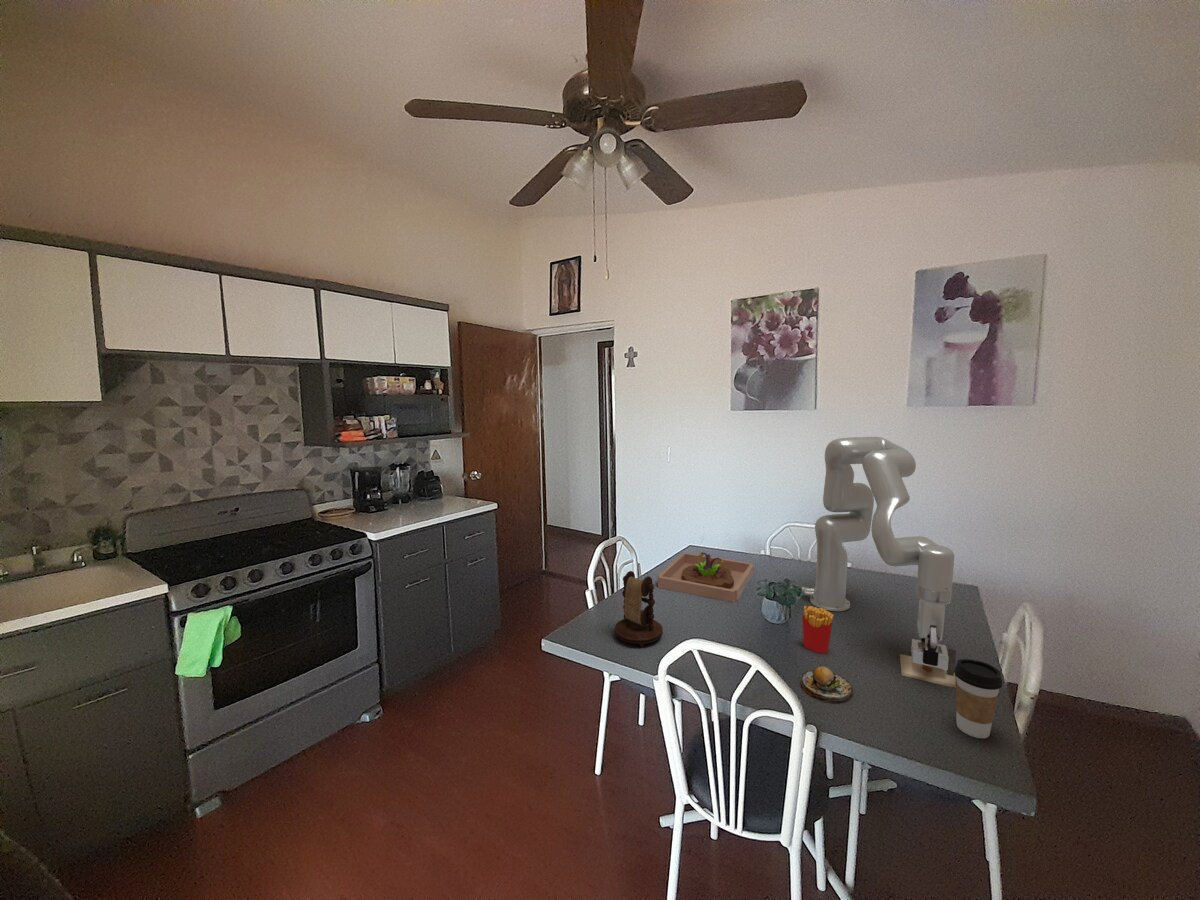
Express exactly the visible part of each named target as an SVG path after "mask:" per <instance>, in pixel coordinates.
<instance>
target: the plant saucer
mask: <svg viewBox="0 0 1200 900" xmlns="http://www.w3.org/2000/svg"><path fill="white" fill-rule="evenodd" d="M714 558H717V557H716V556H711V557H710V561H712V560H713V559H714ZM719 558H720V559H722V560H723V563H722V564H721V563H720V560H719V559H716V560H715V561H714V562H713V566H715V565H717V564H720V566H719V567H724V568H726V569H728V570H729V571H731V575H732V577H733V579H734V586H733V587H732V588H722V587H716V586H711V585H706V584H700V583H695V582H690V581H684V580H682V571H683V570H684V569H685V568H687V567H688V566H692V565H695V564H700V562H702V563H703V564H704V562H705V561H706V556H705V554H703V556H702V557H699V553H698V554H697V553H690V552H684V553H683V552H682V553H680V554H679V555H678V557H676V558H675V559H674V560H673V561H671V563H670V564H668V565H667V567H665V568H663V570H662V571H661V572H660V573H659V574H658V575H657V588H659V589H660V588H661V589H663V590H664V589H665V590H669V591H675V592H680V593H684V594H688V595H694V596H699V597H704V598H709V599H713V600H714V599H715V600H719V601H725V602H729V603H735V602H738V601H739V599H740V597H741V596H742V594H743V592H744V591H745V589H746V588H747V586H748V585H749V583H750V581H751V579H752V578H753V576H754V574H755V573H754V572H755V571H754V569H755V565H754V563H753V562H747V561H740V560H734V559H728V558H724V557H723V558H722V557H719Z"/></svg>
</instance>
